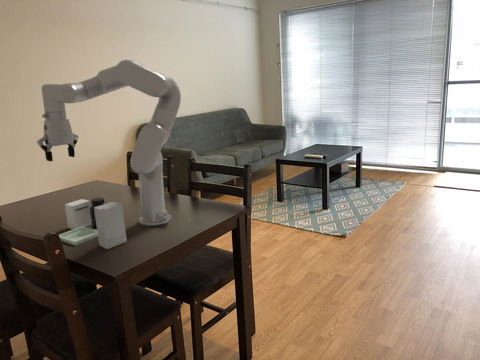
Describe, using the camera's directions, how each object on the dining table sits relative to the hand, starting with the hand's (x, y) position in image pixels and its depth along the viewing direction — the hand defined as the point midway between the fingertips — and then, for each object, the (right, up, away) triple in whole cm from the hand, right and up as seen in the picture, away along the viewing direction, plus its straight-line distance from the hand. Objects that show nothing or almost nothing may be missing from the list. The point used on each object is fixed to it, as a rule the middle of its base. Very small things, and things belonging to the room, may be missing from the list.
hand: (61, 158), depth 163 cm
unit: (+7, -27, +2) cm, 28 cm away
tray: (+12, -30, -10) cm, 34 cm away
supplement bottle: (+16, -28, 0) cm, 32 cm away
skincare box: (+26, -32, -17) cm, 45 cm away
